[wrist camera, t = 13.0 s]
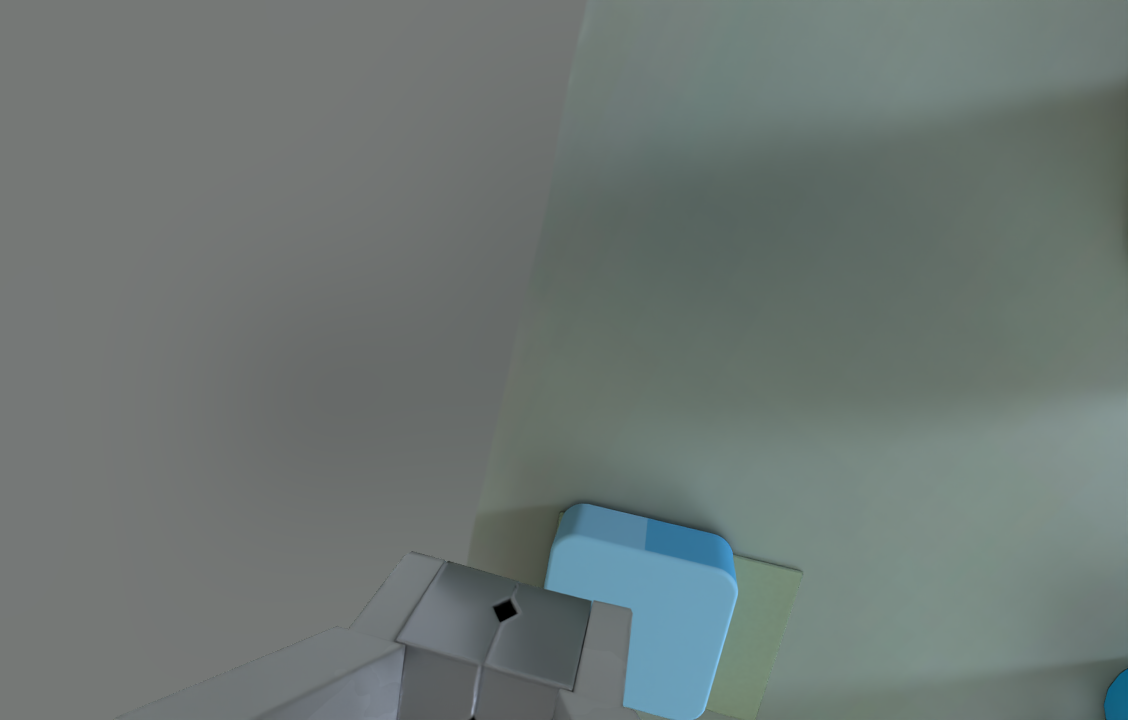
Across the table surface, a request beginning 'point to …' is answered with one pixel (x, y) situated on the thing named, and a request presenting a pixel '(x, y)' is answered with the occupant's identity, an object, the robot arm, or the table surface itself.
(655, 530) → the data package
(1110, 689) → the mug
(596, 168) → the table surface
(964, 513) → the table surface
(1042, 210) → the table surface
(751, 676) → the mat
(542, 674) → the robot arm
